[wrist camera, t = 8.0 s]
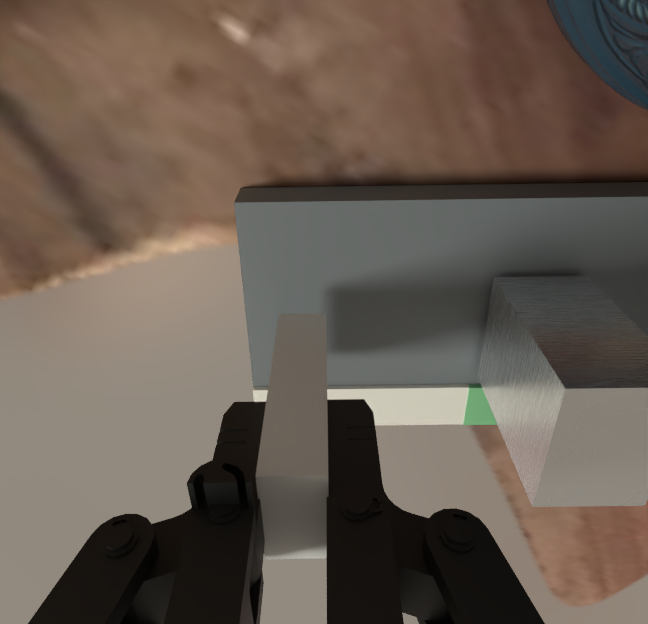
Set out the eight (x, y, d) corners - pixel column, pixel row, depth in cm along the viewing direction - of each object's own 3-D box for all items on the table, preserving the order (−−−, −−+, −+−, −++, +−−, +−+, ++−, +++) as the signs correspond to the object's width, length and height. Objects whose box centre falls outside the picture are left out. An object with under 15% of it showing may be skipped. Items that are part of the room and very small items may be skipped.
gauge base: (261, 400, 22) (229, 601, 14) (240, 187, 17) (179, 323, 10) (694, 394, 22) (887, 594, 14) (789, 179, 17) (1145, 309, 10)
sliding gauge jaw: (469, 424, 20) (517, 560, 15) (493, 277, 17) (565, 388, 12) (547, 423, 20) (621, 558, 15) (587, 275, 17) (697, 387, 12)
